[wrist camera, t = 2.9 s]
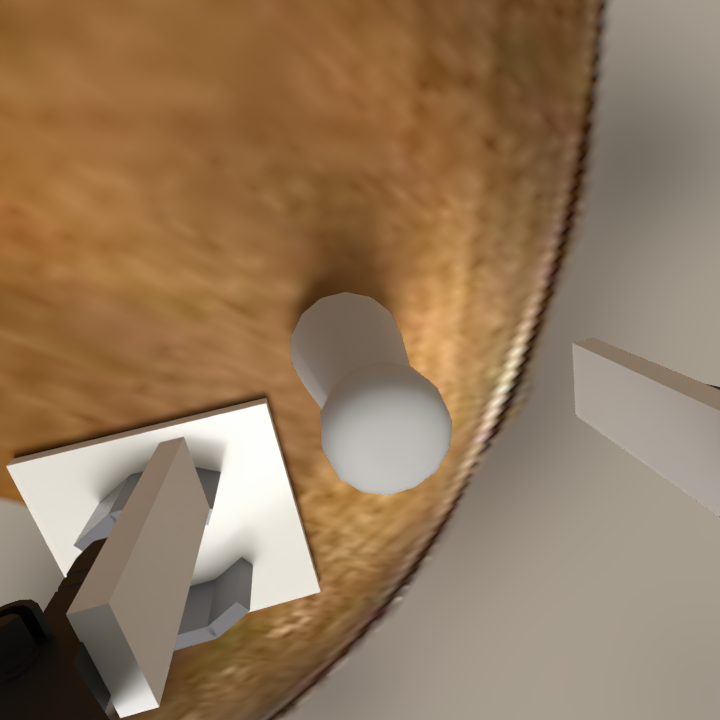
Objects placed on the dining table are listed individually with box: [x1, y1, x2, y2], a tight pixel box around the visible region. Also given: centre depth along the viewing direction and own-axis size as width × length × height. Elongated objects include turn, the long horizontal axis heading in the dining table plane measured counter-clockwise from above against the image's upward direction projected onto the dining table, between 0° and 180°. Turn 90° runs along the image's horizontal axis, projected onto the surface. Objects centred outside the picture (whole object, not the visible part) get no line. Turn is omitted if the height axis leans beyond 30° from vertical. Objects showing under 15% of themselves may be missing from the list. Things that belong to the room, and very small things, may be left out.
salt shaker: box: [290, 292, 452, 495], centre depth 20 cm, size 6×6×13 cm
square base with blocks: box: [6, 398, 320, 651], centre depth 27 cm, size 14×14×4 cm
